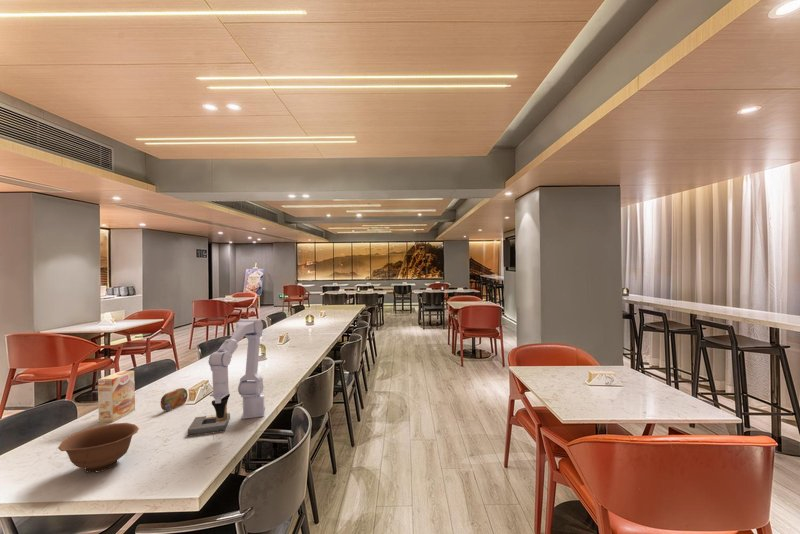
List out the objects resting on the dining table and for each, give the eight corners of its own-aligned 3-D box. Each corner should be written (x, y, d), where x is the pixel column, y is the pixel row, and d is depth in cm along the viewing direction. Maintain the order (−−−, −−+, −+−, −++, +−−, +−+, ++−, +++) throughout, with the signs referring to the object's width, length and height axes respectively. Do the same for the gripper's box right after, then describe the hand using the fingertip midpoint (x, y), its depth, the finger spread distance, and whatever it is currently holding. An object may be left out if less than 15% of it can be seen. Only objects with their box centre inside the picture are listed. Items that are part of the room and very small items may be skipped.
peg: (227, 417, 158) (227, 402, 158) (226, 420, 154) (225, 405, 154) (217, 418, 157) (216, 403, 157) (215, 422, 153) (214, 407, 153)
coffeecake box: (113, 422, 174) (112, 378, 174) (97, 422, 174) (96, 379, 174) (136, 409, 189) (135, 370, 189) (121, 410, 189) (120, 370, 189)
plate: (230, 418, 174) (229, 412, 174) (225, 431, 160) (224, 424, 160) (195, 423, 170) (195, 416, 170) (187, 436, 157) (187, 429, 157)
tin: (165, 413, 183) (164, 395, 183) (159, 413, 184) (158, 395, 184) (188, 402, 198) (187, 386, 198) (183, 402, 199) (182, 385, 199)
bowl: (43, 489, 120) (42, 454, 120) (79, 456, 141) (79, 426, 141) (125, 476, 126) (124, 443, 126) (148, 447, 148) (147, 418, 148)
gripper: (213, 378, 161) (214, 410, 161) (205, 388, 147) (206, 423, 147) (231, 376, 163) (232, 408, 163) (225, 386, 149) (227, 421, 149)
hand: (221, 415), depth 155 cm, fingers closed on peg, 4 cm apart
